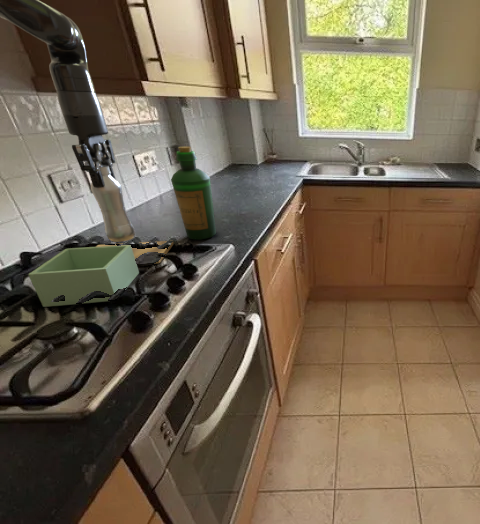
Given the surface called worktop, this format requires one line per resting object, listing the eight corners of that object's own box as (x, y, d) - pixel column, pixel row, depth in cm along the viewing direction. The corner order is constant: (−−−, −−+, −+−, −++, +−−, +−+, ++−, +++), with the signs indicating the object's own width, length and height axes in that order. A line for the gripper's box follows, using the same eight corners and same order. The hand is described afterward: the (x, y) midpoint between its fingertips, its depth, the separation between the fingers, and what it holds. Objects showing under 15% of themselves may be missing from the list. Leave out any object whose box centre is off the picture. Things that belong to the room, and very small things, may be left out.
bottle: (177, 237, 108) (156, 146, 96) (207, 228, 116) (191, 144, 104) (196, 244, 103) (176, 150, 91) (226, 235, 111) (211, 147, 99)
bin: (43, 307, 70) (27, 274, 67) (77, 277, 82) (65, 248, 78) (116, 300, 73) (105, 268, 70) (139, 272, 85) (130, 244, 82)
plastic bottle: (120, 246, 88) (96, 169, 80) (102, 242, 90) (76, 167, 82) (142, 238, 94) (122, 165, 85) (125, 234, 96) (103, 163, 87)
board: (73, 269, 86) (72, 265, 85) (99, 248, 98) (98, 244, 97) (159, 263, 90) (158, 259, 90) (173, 244, 102) (172, 240, 102)
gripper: (80, 112, 84) (101, 179, 91) (45, 113, 71) (73, 191, 78) (114, 112, 85) (132, 178, 92) (86, 114, 73) (109, 190, 80)
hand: (105, 184), depth 85 cm, fingers closed on plastic bottle, 6 cm apart
